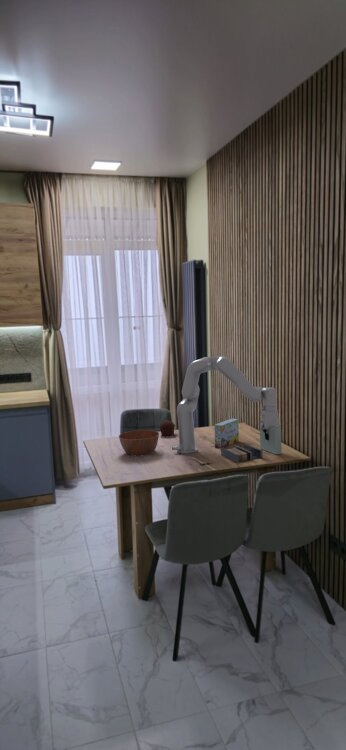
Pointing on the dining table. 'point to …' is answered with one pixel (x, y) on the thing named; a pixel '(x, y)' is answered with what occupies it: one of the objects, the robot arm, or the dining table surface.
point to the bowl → (139, 442)
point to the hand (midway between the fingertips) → (270, 438)
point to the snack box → (226, 433)
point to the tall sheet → (271, 440)
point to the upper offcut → (238, 452)
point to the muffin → (167, 428)
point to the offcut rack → (250, 450)
